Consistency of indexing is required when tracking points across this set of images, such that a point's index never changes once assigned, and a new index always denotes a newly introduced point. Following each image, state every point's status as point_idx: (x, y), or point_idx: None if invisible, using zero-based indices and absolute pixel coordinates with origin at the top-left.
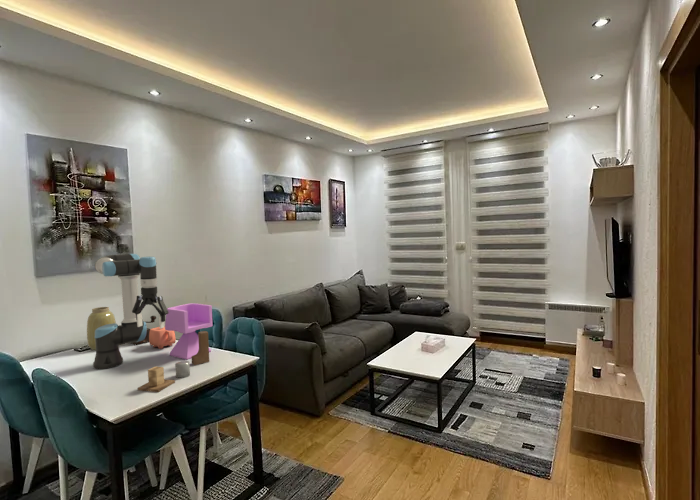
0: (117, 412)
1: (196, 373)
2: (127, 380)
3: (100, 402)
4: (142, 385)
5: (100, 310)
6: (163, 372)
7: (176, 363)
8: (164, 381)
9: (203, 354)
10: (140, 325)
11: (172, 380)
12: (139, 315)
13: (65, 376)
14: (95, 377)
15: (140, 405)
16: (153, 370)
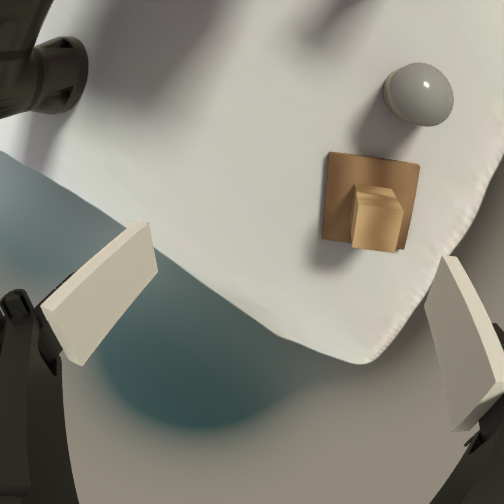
0: (356, 348)
1: (446, 71)
2: (217, 160)
3: (272, 309)
4: (325, 219)
5: None
6: (398, 203)
7: (398, 98)
8: (386, 179)
9: None
10: (149, 253)
11: (412, 168)
12: (81, 335)
13: (47, 175)
14: (104, 161)
15: (393, 320)
16: (380, 250)
